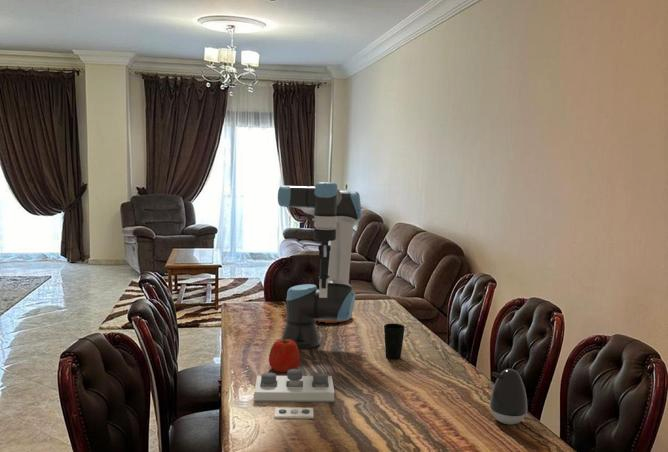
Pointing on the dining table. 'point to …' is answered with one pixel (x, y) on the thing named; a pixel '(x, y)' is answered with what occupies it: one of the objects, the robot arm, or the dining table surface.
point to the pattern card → (294, 413)
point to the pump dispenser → (508, 397)
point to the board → (294, 391)
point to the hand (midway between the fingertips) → (323, 297)
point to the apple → (284, 355)
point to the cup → (393, 340)
